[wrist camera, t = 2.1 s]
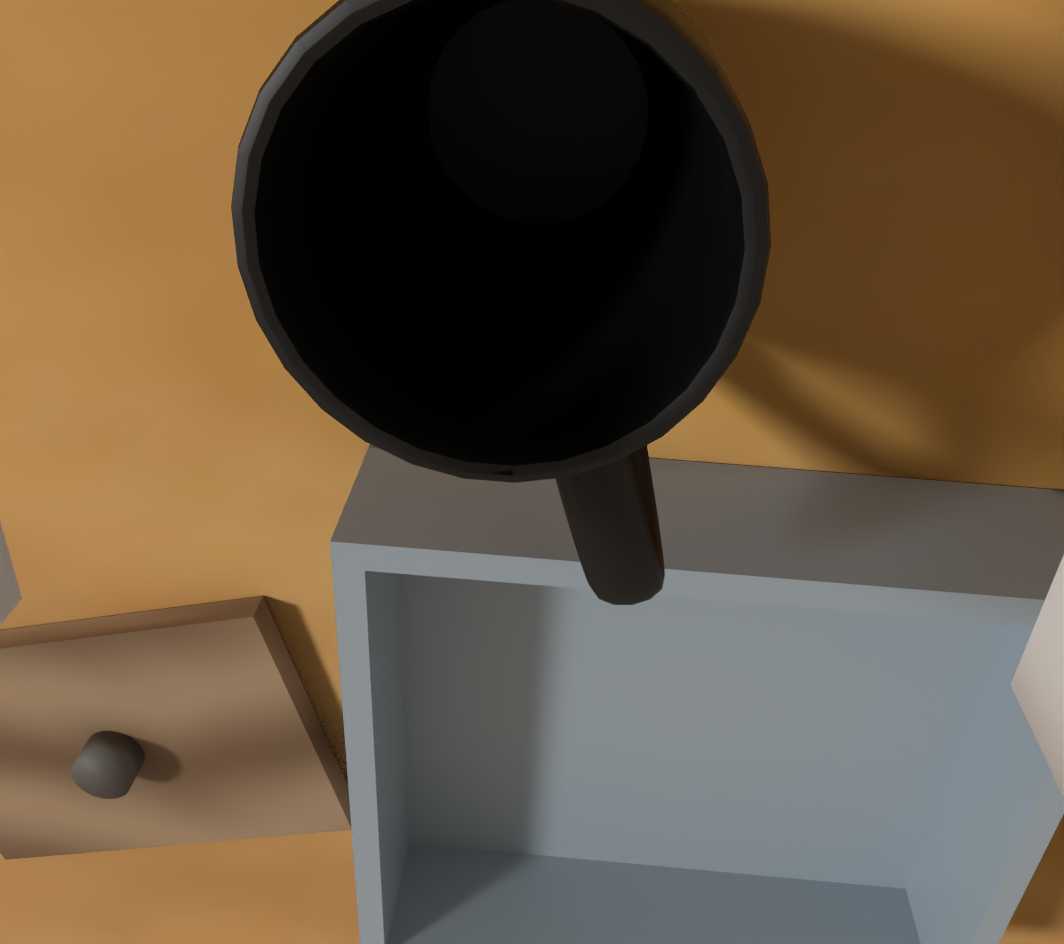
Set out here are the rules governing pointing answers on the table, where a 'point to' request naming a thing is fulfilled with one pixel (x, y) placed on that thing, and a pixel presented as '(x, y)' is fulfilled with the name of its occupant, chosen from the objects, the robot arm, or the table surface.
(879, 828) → the bin
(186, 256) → the table surface
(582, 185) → the mug
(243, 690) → the lid
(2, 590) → the robot arm
